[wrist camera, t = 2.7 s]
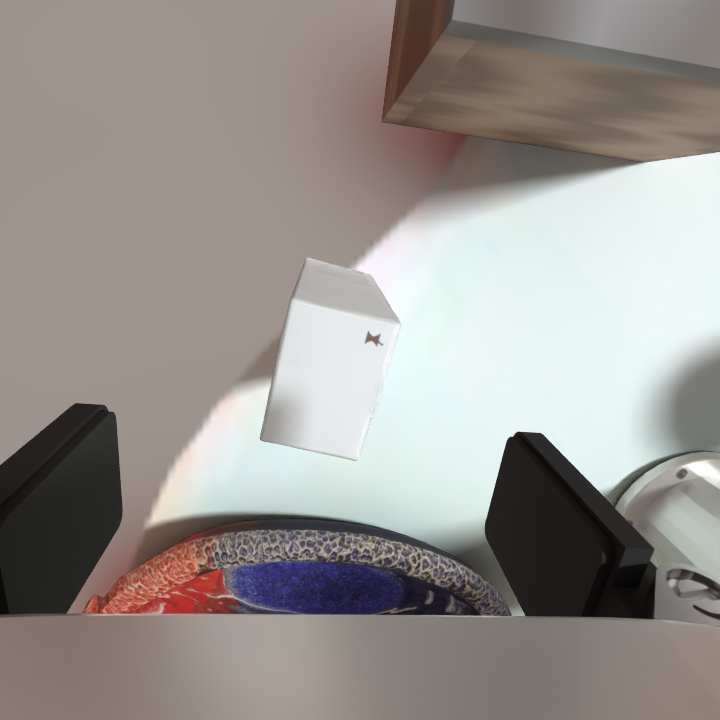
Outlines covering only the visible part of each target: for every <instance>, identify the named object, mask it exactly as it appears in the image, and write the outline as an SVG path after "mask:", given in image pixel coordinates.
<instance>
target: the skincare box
mask: <svg viewBox="0 0 720 720" xmlns="http://www.w3.org/2000/svg"><path fill="white" fill-rule="evenodd" d="M400 328H401V322H400V321H399V319H398V317H397V316H396V314H395V313H394V311H393V310H392V308H391V306H390V305H389V303H388V302H387V300H386V298H385V297H384V295H383V293H382V292H381V290H380V289H379V287H378V285H377V284H376V282H375V280H374V279H373V277H372V276H371V275H370V274H367V273H363V272H359V271H356V270H352V269H349V268H345V267H341V266H337V265H333V264H329V263H325V262H321V261H318V260H314V259H310V258H306V260H305V262H304V265H303V268H302V270H301V272H300V276H299V278H298V281H297V283H296V286H295V288H294V291H293V294H292V297H291V299H290V303H289V307H288V311H287V314H286V318H285V322H284V326H283V330H282V334H281V338H280V343H279V347H278V352H277V357H276V362H275V367H274V372H273V377H272V382H271V387H270V392H269V396H268V402H267V406H266V411H265V416H264V421H263V426H262V430H261V434H260V440H261V441H264V442H270V443H276V444H281V445H285V446H290V447H295V448H299V449H304V450H308V451H313V452H318V453H322V454H327V455H332V456H336V457H341V458H345V459H350V460H354V461H356V460H358V459H359V457H360V455H361V452H362V449H363V445H364V442H365V439H366V436H367V433H368V430H369V427H370V423H371V420H372V417H373V415H374V412H375V409H376V407H377V405H378V402H379V400H380V397H381V393H382V390H383V385H384V381H385V378H386V374H387V371H388V368H389V365H390V361H391V358H392V355H393V352H394V348H395V345H396V342H397V338H398V335H399V332H400Z"/></svg>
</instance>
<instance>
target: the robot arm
mask: <svg viewBox="0 0 720 720" xmlns="http://www.w3.org/2000/svg"><path fill="white" fill-rule="evenodd" d="M121 519H122V496H121V481H120V467H119V453H118V438H117V424H116V416H115V413H114V412H108V409H107V407H106V406H105V405H94V404H79V403H76V404H74V405H72V406H71V407H70V408H69V409H67V410H66V411H65V412H64V413H63V414H61V415H60V416H59V417H58V418H57V419H56V420H54V421H53V422H52V423H51V424H49V425H48V426H47V427H46V428H45V429H43V430H42V431H41V432H40V433H39V434H37V435H36V436H35V437H34V438H33V439H31V440H30V441H29V442H28V443H27V444H25V445H24V446H23V447H22V448H20V449H19V450H18V451H17V452H16V453H15V454H13V455H12V456H11V457H10V458H8V459H7V460H6V461H5V462H4V463H2V464H1V465H0V720H720V453H718V452H697V453H690V454H686V455H682V456H679V457H675V458H673V459H670V460H668V461H666V462H663V463H661V464H659V465H657V466H656V467H654V468H653V469H651V470H649V471H648V472H646V473H645V474H644V475H642V476H641V477H640V478H639V479H638V480H636V481H635V482H634V483H633V484H632V485H631V486H630V487H629V488H628V490H627V491H626V492H625V493H624V494H623V495H622V497H621V498H620V500H619V502H618V503H617V505H616V506H615V508H614V507H613V506H612V505H611V504H610V503H609V502H608V501H607V500H606V498H605V497H604V496H603V495H602V494H601V493H600V492H599V491H598V490H597V489H596V488H595V487H594V486H593V485H592V484H591V483H590V482H589V481H588V480H587V479H586V478H585V477H584V476H583V475H582V474H581V473H580V472H579V471H578V470H577V469H576V468H575V467H574V466H573V465H572V464H571V463H570V462H569V461H568V460H567V459H566V458H565V457H564V456H563V455H562V454H561V453H560V451H559V450H558V449H557V448H556V447H555V446H554V445H553V444H552V443H551V442H550V441H549V440H548V439H547V438H546V437H545V436H544V435H543V434H541V433H531V432H517V433H515V435H514V436H513V437H510V438H508V440H507V442H506V446H505V450H504V454H503V457H502V461H501V465H500V469H499V473H498V477H497V480H496V484H495V488H494V492H493V496H492V499H491V503H490V507H489V511H488V515H487V519H486V522H485V535H486V538H487V541H488V543H489V545H490V547H491V549H492V551H493V553H494V554H495V556H496V558H497V560H498V562H499V564H500V566H501V568H502V570H503V572H504V574H505V576H506V578H507V580H508V582H509V584H510V586H511V588H512V590H513V592H514V594H515V596H516V598H517V600H518V602H519V604H520V606H521V608H522V610H523V612H524V614H525V616H457V615H311V614H66V613H67V612H68V610H69V608H70V607H71V605H72V603H73V602H74V600H75V598H76V597H77V595H78V593H79V592H80V590H81V588H82V587H83V585H84V584H85V582H86V580H87V579H88V577H89V575H90V574H91V572H92V571H93V569H94V567H95V566H96V564H97V562H98V561H99V559H100V557H101V556H102V554H103V553H104V551H105V549H106V548H107V546H108V544H109V543H110V541H111V539H112V537H113V536H114V534H115V533H116V531H117V529H118V528H119V525H120V523H121Z"/></svg>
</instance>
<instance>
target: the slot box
mask: <svg viewBox="0 0 720 720" xmlns="http://www.w3.org/2000/svg"><path fill="white" fill-rule="evenodd" d="M382 122H384V123H391V124H399V125H404V126H411V127H417V128H424V129H431V130H437V131H444V132H451V133H457V134H464V135H470V136H477V137H483V138H490V139H497V140H503V141H510V142H516V143H523V144H530V145H536V146H543V147H549V148H556V149H562V150H569V151H576V152H582V153H589V154H595V155H602V156H609V157H615V158H622V159H628V160H635V161H642V162H651V161H658V160H665V159H672V158H680V157H687V156H694V155H701V154H708V153H715V152H720V0H396V8H395V17H394V25H393V33H392V42H391V50H390V58H389V66H388V74H387V83H386V91H385V99H384V107H383V115H382Z"/></svg>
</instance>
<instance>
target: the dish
mask: <svg viewBox="0 0 720 720" xmlns="http://www.w3.org/2000/svg"><path fill="white" fill-rule="evenodd" d="M82 614H311V615H457V616H512V615H511V613H510V610H509V608H508V606H507V604H506V602H505V600H504V599H503V598H502V596H501V595H500V593H499V592H498V591H497V590H496V589H495V588H494V587H493V586H492V585H491V584H490V583H489V582H488V581H487V580H485V579H484V578H483V577H481V576H480V575H479V574H477V573H476V572H475V571H474V570H473V569H471V568H470V567H469V566H468V565H466V564H465V563H463V562H462V561H460V560H459V559H457V558H455V557H454V556H452V555H450V554H448V553H446V552H444V551H442V550H440V549H438V548H436V547H433V546H431V545H429V544H427V543H425V542H422V541H419V540H417V539H414V538H411V537H409V536H406V535H403V534H399V533H396V532H392V531H389V530H385V529H380V528H376V527H371V526H366V525H360V524H353V523H346V522H338V521H326V520H309V519H265V520H253V521H243V522H238V523H232V524H227V525H221V526H218V527H215V528H212V529H209V530H206V531H203V532H200V533H198V534H195V535H192V536H190V537H188V538H186V539H184V540H182V541H181V542H179V543H177V544H175V545H174V546H172V547H171V548H169V549H167V550H166V551H164V552H162V553H161V554H159V555H157V556H155V557H152V558H151V559H149V560H148V561H146V562H145V563H143V564H142V565H140V566H139V567H137V568H135V569H133V570H131V571H129V572H128V573H126V574H125V575H124V576H122V577H120V579H119V580H118V581H117V583H116V584H115V585H114V586H113V587H112V589H111V590H110V591H109V592H108V593H107V595H106V596H105V597H104V598H102V597H100V596H98V595H96V594H95V595H94V596H93V597H92V598H91V599H90V600H89V601H88V603H87V605H86V607H85V609H84V611H83V613H82Z"/></svg>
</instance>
